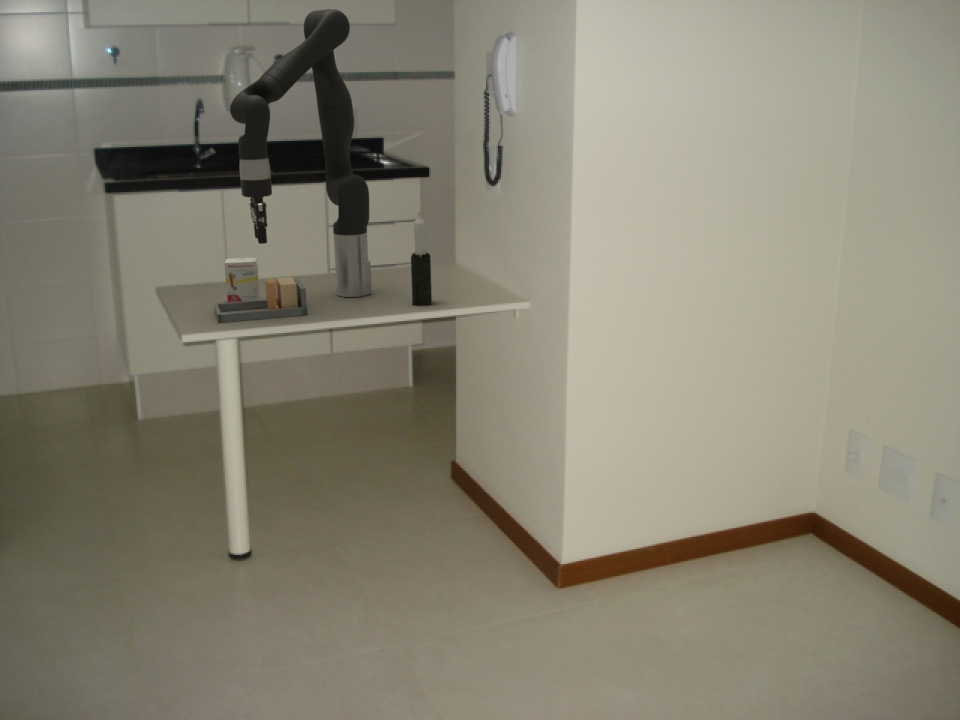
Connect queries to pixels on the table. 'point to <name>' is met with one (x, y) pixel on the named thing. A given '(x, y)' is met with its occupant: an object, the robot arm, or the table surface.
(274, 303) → the pusher
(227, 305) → the grey shallow tray
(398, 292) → the table surface
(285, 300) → the kraft carton
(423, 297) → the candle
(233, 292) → the ink box
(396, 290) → the table surface
